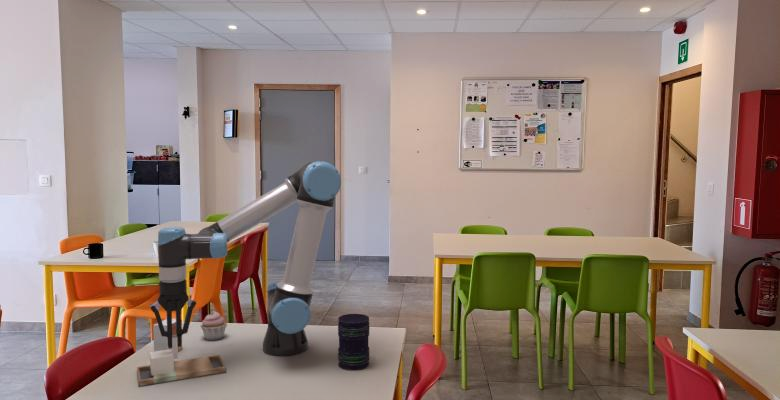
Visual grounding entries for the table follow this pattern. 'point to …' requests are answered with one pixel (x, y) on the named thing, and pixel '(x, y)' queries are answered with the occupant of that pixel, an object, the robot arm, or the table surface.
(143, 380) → the board
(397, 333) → the table surface
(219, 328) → the cupcake
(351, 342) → the storage jar
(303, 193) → the robot arm
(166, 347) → the small box
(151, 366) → the block
